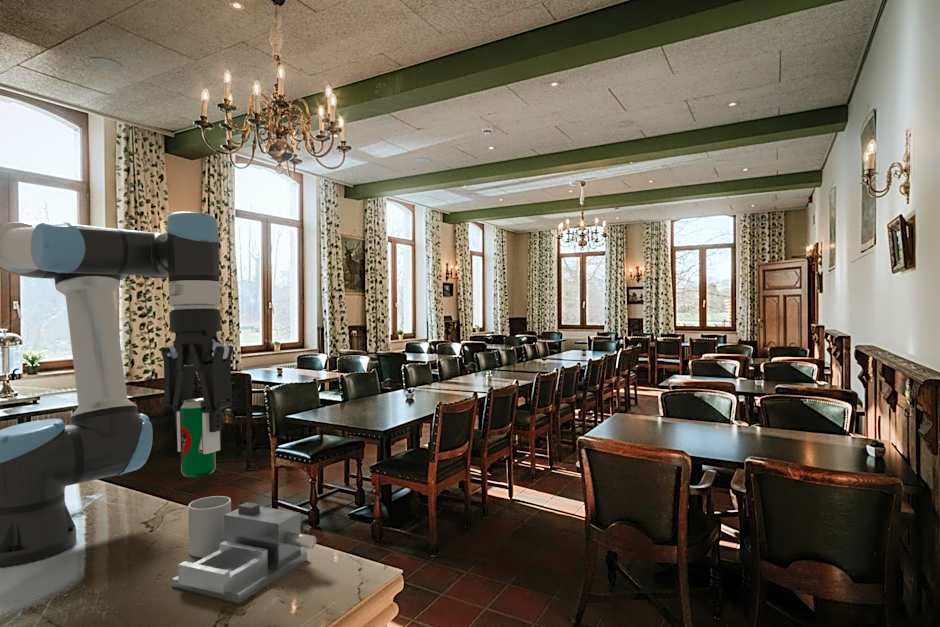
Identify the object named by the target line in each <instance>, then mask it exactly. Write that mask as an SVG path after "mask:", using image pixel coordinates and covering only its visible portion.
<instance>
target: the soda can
mask: <svg viewBox="0 0 940 627" xmlns="http://www.w3.org/2000/svg"><path fill="white" fill-rule="evenodd" d="M182 403H183V404H182V406H181V407H180V439H181V452H180V472H181V474H182V475H183V476H184V477H187V478H199V477H204V476H207V475H210V474H212V473H214V472H215V470H216V468H217V464H216V463H217V460H216V457H217V456H216V452H212V453H209V454H203V431H202V413H203V411H202V410H205V409H206V407H205V402H204V398H203V397H202V398H201V397H199V398H191V399H189V400H184V401H182Z"/></svg>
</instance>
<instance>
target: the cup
mask: <svg viewBox="0 0 940 627" xmlns="http://www.w3.org/2000/svg"><path fill="white" fill-rule="evenodd" d="M187 507H188V508H187V509H188V510H187V511H188V513H187V514H188V515H187V517H188V520H187V521H188V553H189V555H190V556H192V557H194V558H204V557H206V556H208V555H210V554H212V553H214V552H216V551H218V550H219V544H220V543H222V542H224V515H225V514H227V513H230V512H232V499H231V498H230V497H229V496H223V495H214V496H213V495H212V496H206V497H201V498H198V499H195V500H192V501H191V502H190V503H189V504H188V506H187Z"/></svg>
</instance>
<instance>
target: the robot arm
mask: <svg viewBox="0 0 940 627" xmlns="http://www.w3.org/2000/svg"><path fill="white" fill-rule="evenodd" d="M166 219H167V221H166V227H165V231H166V232H154V231H144V230H134V229H133V230H131V229H124V228H123V229H121V228H112V227H111V228H110V227H102V226H94V225H83V224H73V223H70V222H62V221H61V222H60V221H58V222H49V221H38V220H36V221H34V220H22V221H21V220H20V221H12V222H5V223H3V224H0V270H1V271H3V272H6V273H9V274H12V275H16V276H21V277H26V278H31V279H32V278H33V279H35V278H36V279H52V280H54V286H55V291H57V292H59V293H60V294H62V295H64V297H65V302H66V303H65V304H66V312H67V313H66V314H67V320H68V329H69V336H70V345H71V346H70V347H71V354H72V355H71V356H72V363H73V371H74V381H75V388H76V396H77V402H78V403H77V405H78V406H77V408H76V409H75V410H74V412H73V413H72V414H71V415H70V424H66V423H65V422H64V420H63V419H61V418H47V419H42V420H39V419H38V420H32V421H28V422H23V423H19V424H14V425H11V426H7V427H5V428H2V429H0V569H3V568H4V569H5V568H12V567H18V566H23V565H29V564H31V563H35V562H39V561H42V560H45V559H49V558H51V557H54V556H56V555H59V554H62V553H63V552H65V551H66V550H69V549H70V548H72V546H74V545H75V544H76V542H77V527H76V525H75V523H74V520H73V518H72V516H71V513H70V511H69V509H68V506H67V504H66V494H65V489H66V487H68V486H73V485H77V484H81V483H86V482H90V481H91V482H92V481H95V480H101V479H105V478H110V477H111V478H112V477H114V476H115V477H118V476H122V475H123V474H128V473H130V472H134V471H137V470H140V468H142V467H143V466H144V465H145V464H146V463H147V460H148V459H149V456H150V454H151V450H152V446H153V439H154V438H153V437H154V436H153V425H152V422H151V421H150V418H149V416H148V415H146V414H144V413H139V412H138V405H137V403H134V402H133V401H131V400H130V399H129V398H128V392H127V385H126V378H125V370H124V362H123V355H122V347H121V340H120V333H119V324H118V318H117V310H116V300H115V296H114V294H115V291H116V290H118V288H120V287H121V281H123V280H125V278H126V277H127V276H140V277H142V276H143V277H146V278H151V279H167V278H168V280H167V281H168V295H169V296H168V297H169V298H168V300H169V302H168V304H169V306H170V307H173V309H171V310H170V311H169V314H168V315H169V316H168V317H169V320H168V321H169V331H170V332H171V333H172V334H174V335H175V337H174V341H173V344H171V345H170V346H163V347H161V349H160V352H161V357H162V360H163V389H164V390H163V392H164V393H163V396H164V406H165V407H167V408H168V407H170V408H172V411H174V416H175V417H174V423H175V424H174V425H175V426H174V427H175V430H176V437H177V438H176V439H177V440H176V441H177V453H178V452H180V453H181V439H180V407H181V406H182V404H183V403H182V401H184V400H189V399H192V397H193V396H192V395H193V391H194V390H193V389H194V384H195V377H196V372H197V374H198V378H199V382H200V389H201V392H202V398H204V402H205V407H206V409H205V410H202V411H203V413H202V431H203V454H209V453H212V452H215V453H216V452H218V451H221V431H222V429H223V423H222V419H223V418H222V411H223V410H224V409H226V408H227V407H228V408H229V407H231V406H232V405H233V394H232V391H233V390H232V367H231V366H232V365H231V364H232V363H231V358H232V355H233V350H234V348H233V346H232V345H231V344H230V345H229V344H228V345H224V344H221V343H220V341H219V338H218V335H217V333H218V332H220V331H221V329H222V323H221V322H222V319H221V318H222V317H221V310H220V309H219V308H218V309H217V307H219V306H220V305H221V285H220V237H219V228H218V227H219V226H218V221H217V218H216V217H214V216H213V215H211V214H208V213H204V212H197V211H196V212H195V211H175V212H172V213H170V214H168V216H167V218H166Z"/></svg>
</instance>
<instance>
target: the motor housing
mask: <svg viewBox="0 0 940 627" xmlns="http://www.w3.org/2000/svg"><path fill="white" fill-rule="evenodd" d="M316 545H317V537H316V536H315V535H310V534H304V533H301V512H298V511H293V510H287V509H279V508H278V509H277V508H273V507H265V506H261V505H260V503H254V502H247V501H246V502H244V503H242V504H239V505H238V508H236V509H234V510H231V512H230V513H227V514H225V515H224V542H222V543H220V544H219V550H218V551H216V552H214V553H212V554H210V555H208V556H206V557H201V559H199V560H197V561H194V562H190V561H187V560H185V561H183V562H179V563H178V564H177V567H178V568H177V574H178V575H177V576H174V577H173V578H171V587H172V588H176V589H180V590H183V591H187V592H192V593H196V594H201V595H203V596H208V597H211V598H217V599H219V600H224V601H229V602H232V603H236V604H241V603H242V602H244V601H245V600H247V599H249V598H250V597H252V596H253V595H255V594H256V593H258V592H259V591H261V590H264V588H266V587H267V586H269V585H271V584H272V583H274V582H276V581H277V580H278V579H280V578H282V577H284V576H285V575H286V574H288V573H290V572H291V571H292V569H293V570H294V569H296V568H297V567H299V566H300V565H302V564H304V562H307V561H308V551H306V550H302V548H306V549H314V548H315V546H316ZM270 583H271V584H270Z"/></svg>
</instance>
